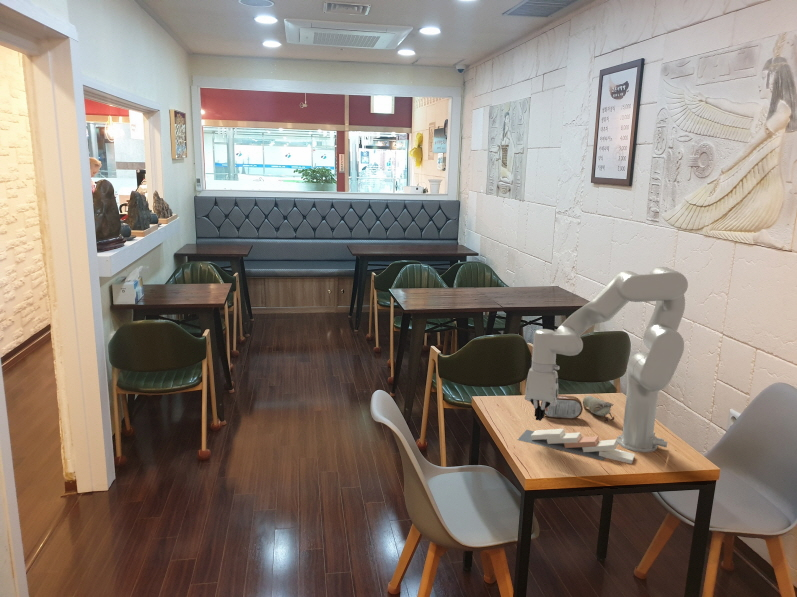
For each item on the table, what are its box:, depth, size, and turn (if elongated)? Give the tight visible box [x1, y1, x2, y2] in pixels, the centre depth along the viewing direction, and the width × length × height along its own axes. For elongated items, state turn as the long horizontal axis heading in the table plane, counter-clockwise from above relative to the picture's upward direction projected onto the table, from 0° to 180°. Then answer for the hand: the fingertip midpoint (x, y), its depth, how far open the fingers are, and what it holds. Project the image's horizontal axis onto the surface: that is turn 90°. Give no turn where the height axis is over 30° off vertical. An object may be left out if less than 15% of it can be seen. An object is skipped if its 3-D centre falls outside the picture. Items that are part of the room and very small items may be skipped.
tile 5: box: [599, 448, 636, 465], centre depth 190 cm, size 2×5×10 cm
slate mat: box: [517, 429, 606, 461], centre depth 199 cm, size 28×10×1 cm, turn 60°
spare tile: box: [564, 435, 600, 448], centre depth 195 cm, size 2×5×10 cm
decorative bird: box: [582, 395, 615, 423], centre depth 225 cm, size 5×16×8 cm, turn 19°
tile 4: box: [582, 438, 619, 452], centre depth 192 cm, size 2×5×10 cm
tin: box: [540, 394, 584, 420], centre depth 222 cm, size 15×3×8 cm, turn 84°
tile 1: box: [531, 428, 566, 440], centre depth 201 cm, size 2×5×10 cm
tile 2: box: [547, 432, 582, 444], centre depth 198 cm, size 2×5×10 cm
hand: (539, 419), depth 201 cm, fingers closed
